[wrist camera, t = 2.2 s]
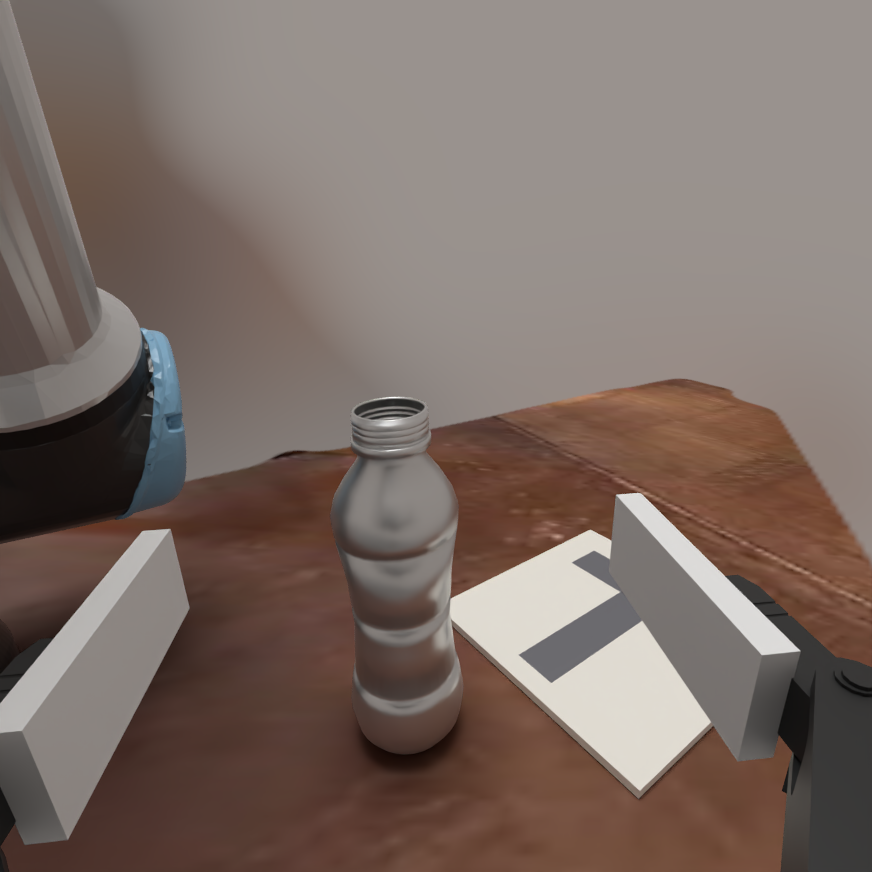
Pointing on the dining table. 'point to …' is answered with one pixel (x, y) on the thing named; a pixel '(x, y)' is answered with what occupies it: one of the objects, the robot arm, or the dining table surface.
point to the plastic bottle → (399, 577)
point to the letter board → (585, 659)
